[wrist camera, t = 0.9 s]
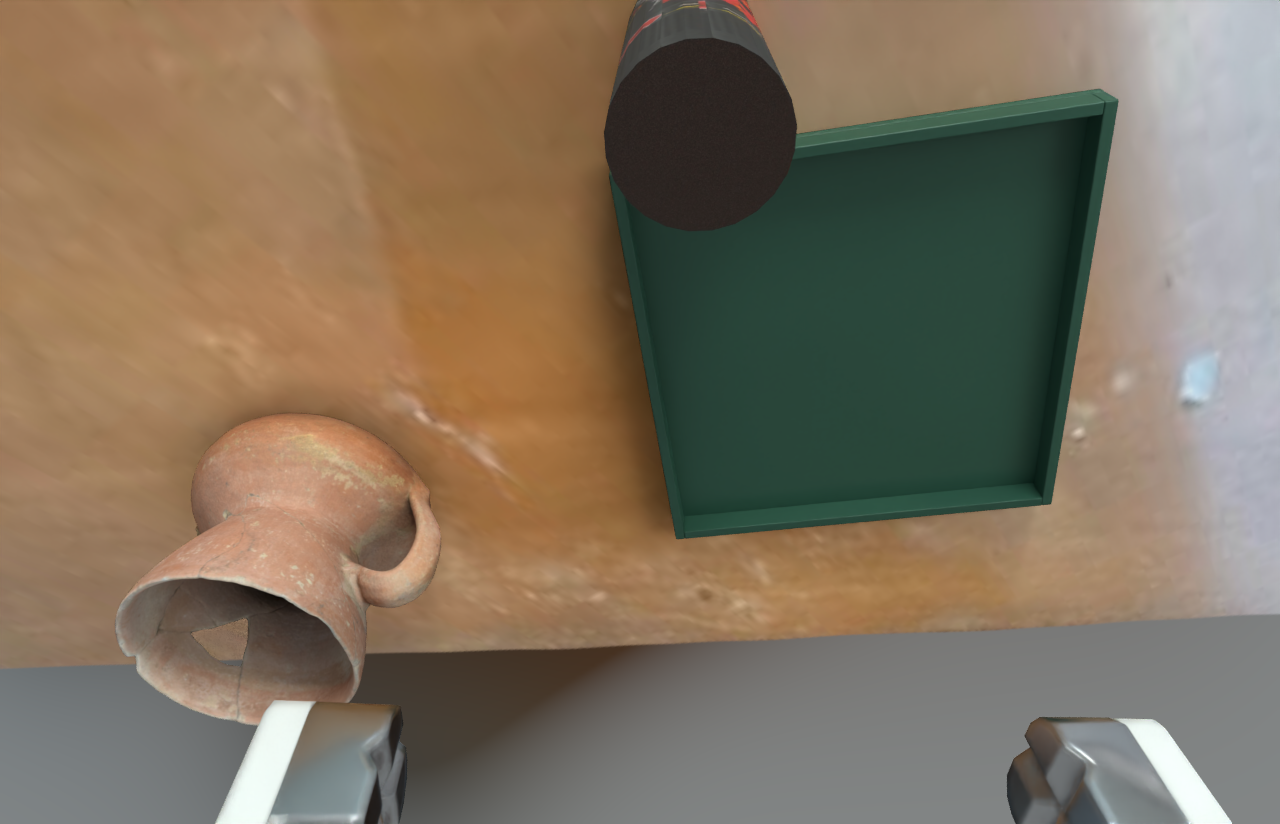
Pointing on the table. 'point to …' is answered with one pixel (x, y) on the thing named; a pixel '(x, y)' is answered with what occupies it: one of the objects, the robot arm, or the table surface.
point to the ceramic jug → (283, 566)
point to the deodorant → (698, 115)
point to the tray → (877, 321)
